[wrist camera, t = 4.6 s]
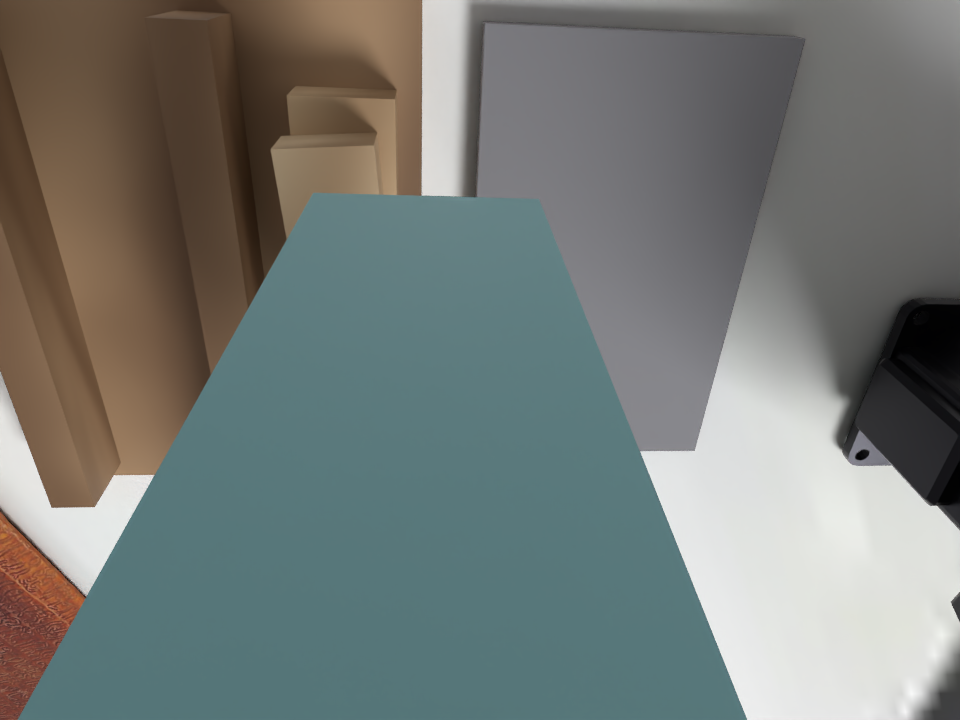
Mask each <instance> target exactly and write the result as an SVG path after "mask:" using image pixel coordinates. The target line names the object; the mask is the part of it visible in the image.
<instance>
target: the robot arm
mask: <svg viewBox="0 0 960 720" xmlns="http://www.w3.org/2000/svg"><path fill="white" fill-rule="evenodd" d="M919 312H921V314H920V315H919V316H918V317H917V318H915V319H914V317H915V316H916V314H918V313H919ZM860 450H861V451H860ZM858 451H859V452H858ZM842 452H843V455H844V456H845V458H846V459H847V460H848V461H849V462H850V463H851V464H852V465H856V466H877V465H892V466H893V467H894V468H895V469H896V470H897V471H898V473H899V474H900V475H901V476H902V477H903V478H904V479H905V480H906V481H907V482H908V483H909V485H910V486H911V487H912V488H913V489H914V490H915V491H916V492H917V493H918V494H919V495H920V497H921V498H922V499H923V500H924V501H925V502H926V503H927V504H929V505H930V506H938V507H939V508H940V509H941V511H942V512H943V513H944V514H945V515H946V516H947V517H948V518H949V519H950V520H951V521H952V522H953V523H954V525H955V526H956V527H957V528H958V529H959V530H960V299H927V298H919V299H913V300H911V301H909V302H907V303H906V304H905V305H904V306H903V307H902V308H901V310H900V311H899V313H898V316H897V318H896V321H895V323H894V325H893V328H892V330H891V333H890V335H889V338H888V340H887V342H886V345H885V347H884V350H883V352H882V355H881V357H880V359H879V362H878V364H877V367H876V369H875V372H874V374H873V376H872V379H871V381H870V384H869V386H868V389H867V391H866V393H865V396H864V398H863V401H862V403H861V406H860V408H859V410H858V413H857V415H856V418H855V420H854V423H853V425H852V427H851V430H850V432H849V435H848V437H847V440H846V442H845V444H844V447H843V451H842ZM857 452H858V453H857ZM951 603H952V606H953V608H954V610H955V612H956V615H957V617H958V619H959V621H960V592H959V593H958V595H957V596H956V597H955V598H954V599H953V600H952V601H951Z"/></svg>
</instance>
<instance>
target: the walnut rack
mask: <svg viewBox="0 0 960 720" xmlns="http://www.w3.org/2000/svg"><path fill="white" fill-rule="evenodd" d="M295 86H308V87H334V88H360V89H386V90H397V137H398V195H414V196H421V165H422V0H0V371H1V374H2V376H3V379H4V382H5V384H6V387H7V390H8V392H9V395H10V398H11V400H12V403H13V406H14V408H15V411H16V414H17V416H18V419H19V422H20V424H21V427H22V430H23V432H24V435H25V438H26V440H27V443H28V446H29V448H30V451H31V454H32V456H33V459H34V462H35V464H36V467H37V470H38V472H39V475H40V478H41V480H42V483H43V486H44V488H45V491H46V494H47V496H48V499H49V502H50V504H51V507H52V508H60V507H95V506H96V504H97V502H98V501H99V499H100V497H101V496H102V494H103V492H104V491H105V489H106V487H107V486H108V484H109V482H110V480H111V479H112V477H113V475H155V474H156V472H157V470H158V469H159V467H160V465H161V463H162V461H163V460H164V458H165V456H166V454H167V452H168V451H169V449H170V447H171V445H172V444H173V442H174V440H175V438H176V436H177V435H178V433H179V431H180V429H181V427H182V426H183V424H184V422H185V420H186V419H187V417H188V415H189V413H190V411H191V410H192V408H193V406H194V404H195V403H196V401H197V399H198V397H199V395H200V394H201V392H202V390H203V388H204V386H205V385H206V383H207V381H208V379H209V378H210V376H211V374H212V372H213V370H214V369H215V367H216V365H217V363H218V361H219V360H220V358H221V356H222V354H223V353H224V351H225V349H226V347H227V345H228V344H229V342H230V340H231V338H232V337H233V335H234V333H235V331H236V329H237V328H238V326H239V324H240V322H241V320H242V319H243V317H244V315H245V313H246V312H247V310H248V308H249V306H250V304H251V303H252V301H253V299H254V297H255V296H256V294H257V292H258V290H259V288H260V287H261V285H262V283H263V281H264V279H265V278H266V276H267V274H268V272H269V271H270V269H271V267H272V265H273V263H274V262H275V260H276V258H277V256H278V254H279V253H280V251H281V249H282V247H283V246H284V244H285V242H286V240H287V238H286V233H285V227H284V222H283V216H282V211H281V205H280V199H279V194H278V188H277V183H276V177H275V172H274V166H273V161H272V155H271V148H272V147H273V146H274V144H275V143H276V142H277V141H278V139H279V138H280V137H281V136H290V126H289V115H288V105H287V95H288V93H289V92H290V91H291V90H292V89H293V88H294V87H295Z"/></svg>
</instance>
